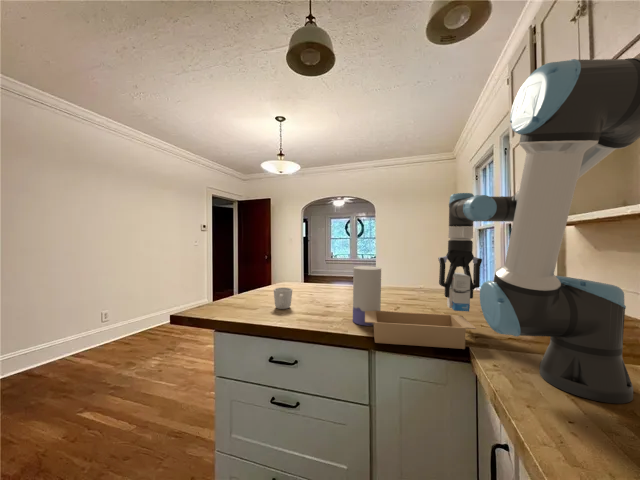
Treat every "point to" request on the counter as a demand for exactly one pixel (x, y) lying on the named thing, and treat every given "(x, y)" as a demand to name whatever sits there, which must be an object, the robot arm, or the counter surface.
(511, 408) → the counter surface
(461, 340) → the carton
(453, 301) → the ink box
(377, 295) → the container
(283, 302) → the cup
